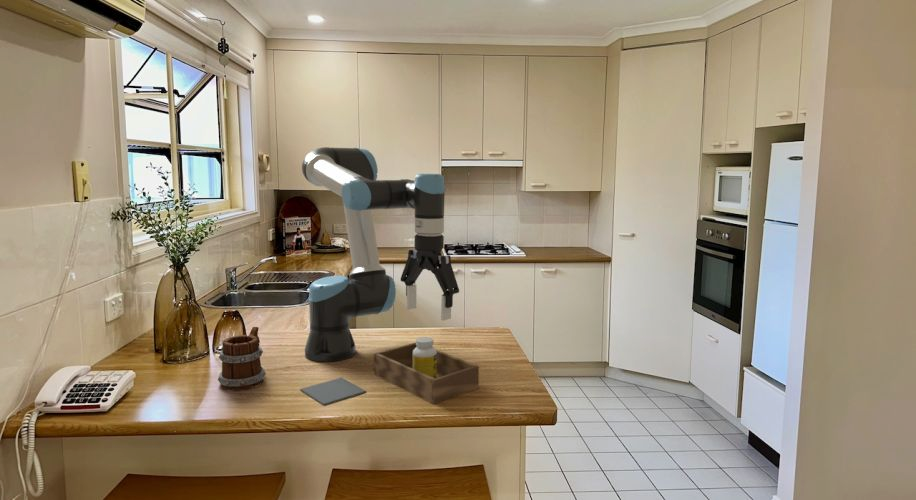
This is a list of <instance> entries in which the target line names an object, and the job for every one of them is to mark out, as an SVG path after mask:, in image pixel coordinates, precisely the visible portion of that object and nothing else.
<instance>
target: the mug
mask: <svg viewBox="0 0 916 500" xmlns="http://www.w3.org/2000/svg"><path fill="white" fill-rule="evenodd" d="M258 334H259V327H258V326H252V328H251V330H250V332H249V334H248V335H247V334H240V335H235V336H232V337H231V336H229V337H226V338H225V339H223V340H222V342H221V345H222V348H221V350H220V352H219V355H218V358H219V360H220V361H221V372H220V373H219V375H218V377H217V381H218V383H219V384H220V386H221V388H222V389H225V390H228V391H232V390H233V391H242V390H243V391H245V390H249V389H252V388H254V387H255V388H256V387H258V386H260V385H261V384H262V383H263V382H264V379H265V376H266V375H267V372H266V371H265V368H263V367H262V363H261V357H262V355H263V353H264V351H263V349H262V347H261V346H260V342H261V340H260V336H259V335H258Z"/></svg>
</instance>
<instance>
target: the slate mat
mask: <svg viewBox="0 0 916 500" xmlns="http://www.w3.org/2000/svg"><path fill="white" fill-rule="evenodd" d="M299 389H300V391H301V392H302V393H304V394H305V395H307V396H308V397H309V398H311V399H312V400H315V401H316V402H318V404H320V405H322V406H326V405H329V404H332V403H336V402H339V401H342V400H346V399H349V398H352V397H355V396H358V395H362V394H365V393H367V390H366V389H363V388H362V387H360V386H358V385H356V384H354V383H352V382H351V381H349V380H347V379H346V378H343V377H337V378H334V379H331V380H327V381H324V382H320V383H316V384H313V385H310V386H307V387H306V386H305V387H303V388H302V387H301V388H299Z"/></svg>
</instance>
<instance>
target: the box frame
mask: <svg viewBox="0 0 916 500" xmlns="http://www.w3.org/2000/svg"><path fill="white" fill-rule="evenodd" d="M416 347H417V345H416V342H413V343H408V344H405V345H401V346H398V347H397V346H396V347H393V348H390V349H385V350H382V351H379V352H374V353H373V374H374V376H377V377H379V378H380V379H383V380H385V381H386V382H389V383H391V384H393V385H395V386H397V387H399V388H400V389H402V390H405V391H407V392H408V393H411V394H413V395H415V396H417V397H419V398H421V399H423V400H425V401H426V402H429V403H431V404H433V405H437V404H439V403H441V402H445V401H447V400H451V399H453V398H456V397H459V396H461V395H464V394H466V393H470V392H472V391H475V390H478V389H479V381H480V379H479V377H480V376H479V371H480V366H479V365H477V364H473V363H471V362H469V361H467V360H464V359H461V358H458V357H455V356H453V355H450V354H448V353H445V352H443V351H440V350H437V349H436V351H437V374H440V375H441V376H439V377H437V378H433V377H430V376H428V375H426V374H424V373H421V372H419V371H417V370H415V369H413V367H410V366H413V350H414V349H415V348H416Z"/></svg>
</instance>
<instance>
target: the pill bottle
mask: <svg viewBox="0 0 916 500" xmlns="http://www.w3.org/2000/svg"><path fill="white" fill-rule="evenodd" d="M415 343H416V345H417V347H416V348H415V349H414V350H413V365H412V369H415V370H417V371H419V372H421V373H424V374H426V375H428V376H430V377H433V378H438V377H437V376H438V373H437V351H436V350H437V349H436V348H435V347H434V338H432V337H430V336H422V337H417V338H416V339H415Z"/></svg>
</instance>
